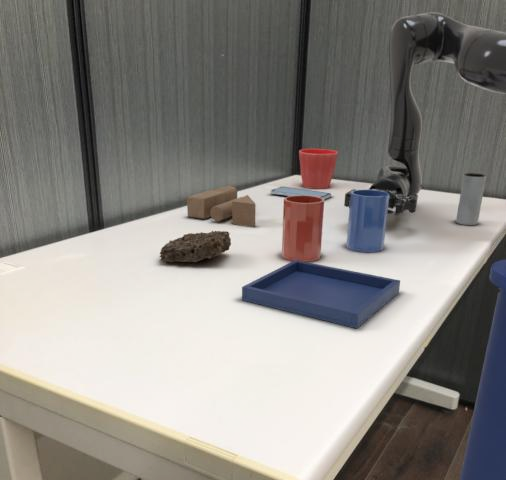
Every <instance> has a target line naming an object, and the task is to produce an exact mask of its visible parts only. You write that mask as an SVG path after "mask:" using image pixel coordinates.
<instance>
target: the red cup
mask: <svg viewBox="0 0 506 480" xmlns="http://www.w3.org/2000/svg"><path fill="white" fill-rule="evenodd" d="M282 208H283V211H282V235H281V236H282V237H281V238H282V239H281V257H282V258H283V259H285V260H286V261H287V260H288V261H291V262H292V261H294V260H298V261H303V262H308V263H311V262H317V261H319V260H320V259H321V255H322V245H323V244H322V243H323V229H324V214H325V199H323V198H320V197H316V196H306V195H296V196H286V197H284V198H283V207H282Z"/></svg>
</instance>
